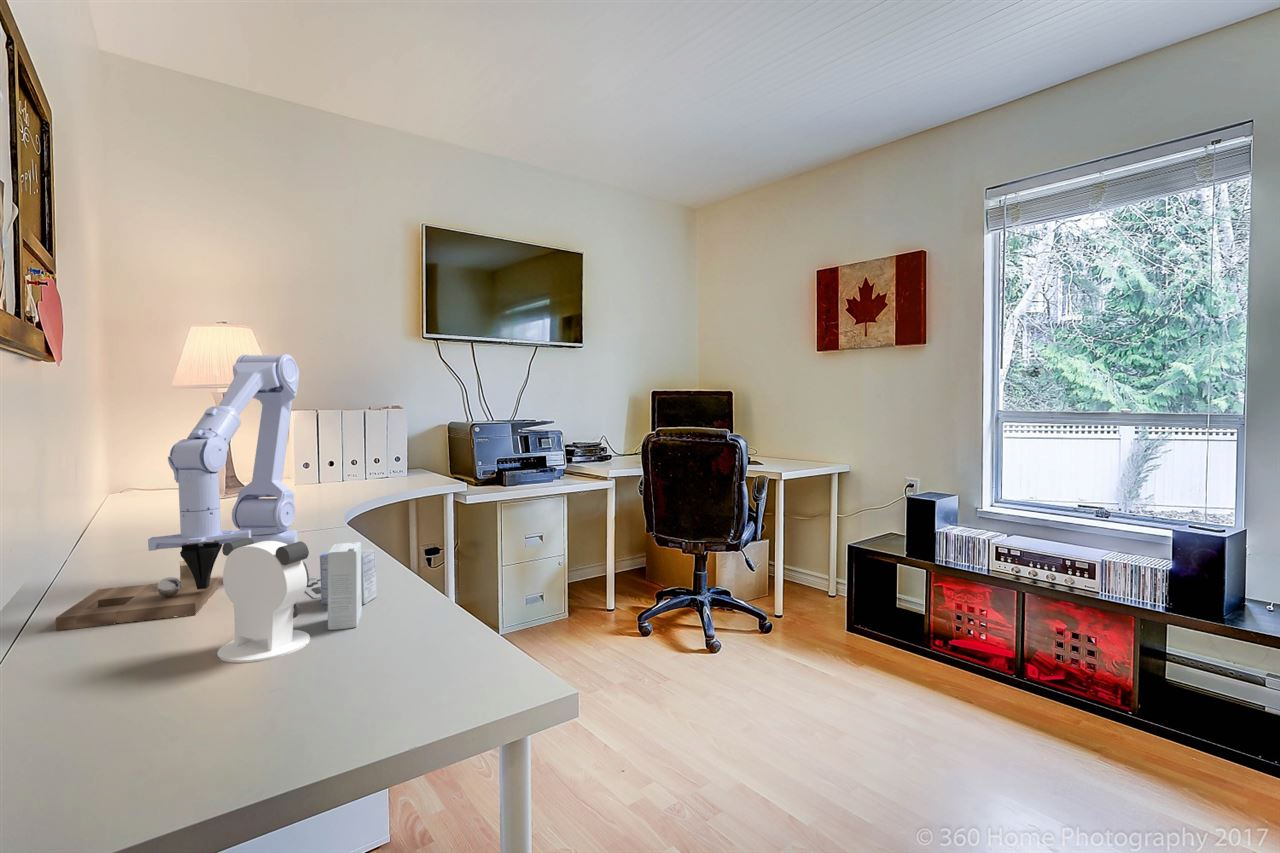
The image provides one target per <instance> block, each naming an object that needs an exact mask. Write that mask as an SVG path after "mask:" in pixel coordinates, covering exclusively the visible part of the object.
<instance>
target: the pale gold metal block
mask: <svg viewBox="0 0 1280 853" xmlns="http://www.w3.org/2000/svg"><path fill="white" fill-rule="evenodd" d="M179 576H180V579H179V581H180V583H181V589H182V588H188V587H195V586H196V582H195V579H194V577H193V574H192V572H191V570H190V568H189V567H188V565H187V564H186V562H185V561H184V560H181V561H179Z"/></svg>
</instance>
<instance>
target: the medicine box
mask: <svg viewBox="0 0 1280 853" xmlns="http://www.w3.org/2000/svg"><path fill="white" fill-rule="evenodd" d="M329 551H330V550H329ZM329 551H326V552H324V553H322V554H319V570H320V571H319V572H320V573H319V574H320V575H319V576H320V578H321V598H320V600H321V601H320V602H321V604H323V605H328V552H329ZM376 568H377V566H376V551H375V549H362V548H361V592H362V605H366V604H368V603H369V602H371V601H373V600H374V599H376V598H377V597H378V591H377V571H376V570H377V569H376Z"/></svg>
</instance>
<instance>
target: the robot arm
mask: <svg viewBox="0 0 1280 853" xmlns="http://www.w3.org/2000/svg"><path fill="white" fill-rule="evenodd" d="M232 373H233V374H232V375H233V379H232V381H231V383H230V385H229V387H228V388H227V390H226V392H225V394H224V395H223V397H222V399H221V401H220V402H219V405H214V406H210V407H208V408H207V409H206V410H205V411H204V412H203V413H204V414H203V415H202V416H201V418H200V419H199V420H198V422H197V424H196V425H195V427H194V428H193V429H192V430H191V432H190V433H189V434H188V436H187V438H183V439H181V440H178V441H177V442H176V443H174V444H173V445H172V447H171V449H170V452H169V456H167V462H168V465H169V467H170V469H171V470H172V471H173V475H174V477H173V478H174V481H175V483H177V484H178V501H179V502H178V503H179V505H178V506H179V522H180V523H179V524H180V525H179V526H180V527H179V528H180V530H179V531H180V533H178V534H169V535H161V536H151V537H150V538H149V539H147V545H148V546H147V548H148V549H147V550H148V551H150V552H151V551H157V550H163V549H164V550H165V549H176V548H181V551H180V552H179V554H180V557H181V558H182V560H183V561H185V562H186V564H187V565H188V567H189V568H190V570H191V572H192V574H193V577H194V579H195V582H196V586H197V589H206V588H208V587H209V583H210V578H212V577H211V576H212V572H213V569H214V566H215V563H216V560H217V558H218V556H219V553H220V551H221V549H222V548H223V545H224V544H225V543H228V542H232V541H236V540H240V539H244V538H251V539H252V540H253V542H254V544H255V543H258V542H262V541H278V542H282V543H285V544H287V545H289V544H292V543H296V542H299V535H298V530H297V529H290V527H291V526H292V524H293V523H294V521H295V519H296V507H295V493H294V492H293V491H292V490H291V489H290V488H289V487H287V485H285V484H284V483H283V477H284V476H283V475H284V470H285V468H284V467H285V462H286V461H285V460H286V454H287V446H288V436H289V432H290V431H289V430H290V421H291V415H292V407H293V405H292V404H293V400H295V398H297V394H298V388H299V387H298V386H299V377H300V370H299V367H298V365H297V362H296V360H295V359H294V357H293V356H292V355H290V354H289V353H288V354H287V353H283V354H270V355H269V354H266V355H265V354H261V355H260V354H258V355H257V354H256V355H255V354H254V355H253V354H251V355H250V354H242V355H240V356H239V357H238V358H237V360H236V362H235V363H234V364H233V365H232ZM252 399H255V400H257V401H259V402H260V404H261V405H262V406H261V413H260V421H259V426H258V427H259V429H258V435H257V443H256V450H255V458H254V463H253V465H254V466H253V472H252V478H251V482H249V483H248V484H246V485H245V486H244V487H242V488H241V489H240V490H239V491H238V494H237V498H236V502H235V503H234V505H233V508H232V510H231V520H232V523H233V525H234V527H235V528H237V529H238V530H235V529H234V530H222V527H221V526H222V525H221V520H222V519H221V499H220V496H221V495H220V479H219V478H220V475H219V474H220V471H221V470H222V469H223V468H224V467H225V466H226V463H227V460H228V451H229V446H230V445H229V443H230V442H231V440H232V439H233V437H234V436H235V434H236V433H237V431H238V429H239V428H240V427H241V424H242V422H241V421H242V420H241V418H240V414H241V412H243V411H244V409H245V408H246V407H247V405H248V404H249V403H250V402H251V400H252Z"/></svg>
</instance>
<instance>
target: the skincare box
mask: <svg viewBox="0 0 1280 853" xmlns="http://www.w3.org/2000/svg"><path fill="white" fill-rule="evenodd" d="M361 549H362V542H360V541H357V542H355V541H354V542H344V543H343V542H342V543H335V544H333V545H332V546H331V548H330V549H329V552H328V551H327V552H328V604H327V630H329V631H332V630H333V631H335V630H336V631H337V630H346V629H354V628H357V627H358V624H359V621H360V620H361V617H362V612H363V611H362V610H363V609H362V606H363V604H362V592H361Z"/></svg>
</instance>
